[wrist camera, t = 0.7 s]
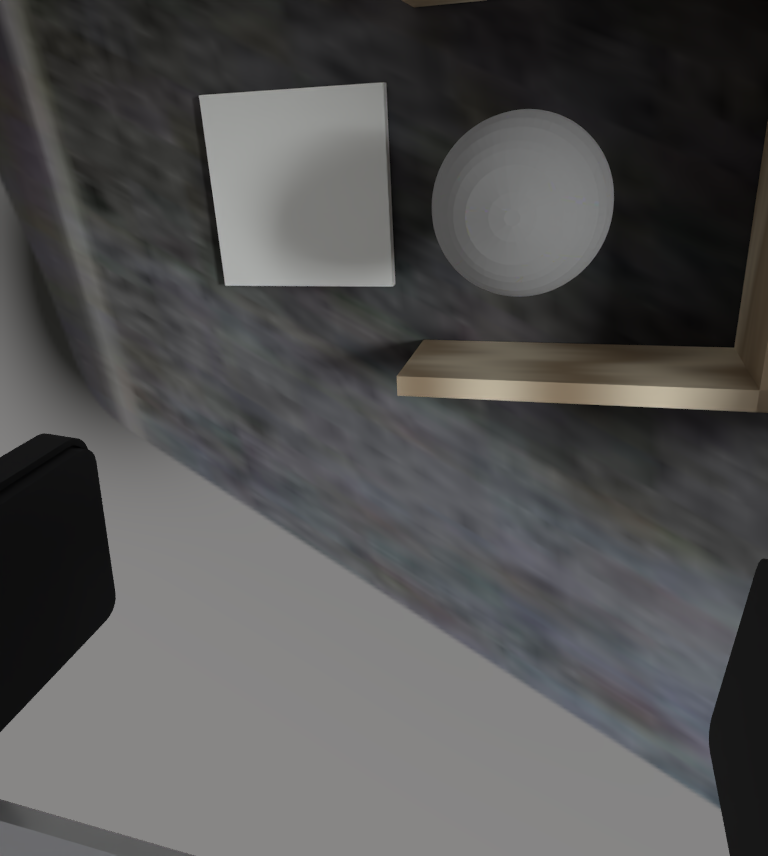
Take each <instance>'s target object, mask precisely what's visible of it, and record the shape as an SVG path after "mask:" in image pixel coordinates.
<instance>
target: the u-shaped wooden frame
mask: <svg viewBox="0 0 768 856" xmlns="http://www.w3.org/2000/svg"><path fill="white" fill-rule="evenodd" d="M402 1H403V2H405V3H407V4H409V5H410V6H412V7H423V6H433V5H444V4H454V3H464V2H475V1H485V0H402ZM397 393H398V396H418V397H440V398H461V399H483V400H504V401H526V402H548V403H569V404H591V405H612V406H634V407H655V408H677V409H698V410H720V411H742V412H763V413H768V121H767V128H766V135H765V142H764V149H763V155H762V162H761V169H760V176H759V183H758V189H757V196H756V203H755V210H754V217H753V223H752V230H751V237H750V244H749V251H748V257H747V264H746V271H745V278H744V285H743V291H742V298H741V305H740V312H739V319H738V325H737V332H736V339H735V346H734V348H731V347H692V346H653V345H613V344H574V343H535V342H495V341H456V340H423V341H422V343H421V344H420V345H419V347H418V348H417V349H416V351H415V352H414V354H413V355H412V356H411V358H410V359H409V360H408V362H407V363H406V364H405V366H404V367H403V368H402V370H401V371H400V372H399V374H398V375H397Z"/></svg>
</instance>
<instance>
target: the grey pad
mask: <svg viewBox="0 0 768 856" xmlns="http://www.w3.org/2000/svg"><path fill="white" fill-rule="evenodd" d="M199 100H200V107H201V114H202V122H203V129H204V136H205V143H206V150H207V158H208V165H209V172H210V179H211V186H212V194H213V201H214V208H215V215H216V222H217V230H218V237H219V244H220V251H221V258H222V266H223V273H224V280H225V286H377V287H393V286H394V285H395V264H394V242H393V220H392V198H391V175H390V153H389V131H388V109H387V86H386V83H384V82H381V83H367V84H353V85H338V86H324V87H310V88H296V89H281V90H267V91H253V92H239V93H224V94H210V95H199Z"/></svg>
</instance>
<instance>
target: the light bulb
mask: <svg viewBox="0 0 768 856" xmlns="http://www.w3.org/2000/svg"><path fill="white" fill-rule="evenodd" d="M613 205H614V188H613V180H612V175H611V171H610V168H609V165H608V162H607V160H606V158H605V155H604V154H603V152H602V150H601V148H600V147H599V145H598V144H597V143H596V141H595V140H594V139H593V138H592V137H591V135H590V134H589V133H588V132H587V131H585V130H584V129H583V128H582V127H581V126H579V125H578V124H577V123H575V122H574V121H572V120H570V119H568V118H566V117H564V116H562V115H559V114H557V113H553V112H550V111H545V110H539V109H520V110H513V111H509V112H505V113H501V114H499V115H496V116H493V117H491V118H489V119H486V120H484V121H482V122H481V123H479V124H478V125H476V126H474V127H473V128H472V129H470V130H469V131H468V132H467V133H466V134H464V135H463V136H462V137H461V138H460V139H459V140H458V141H457V142H456V144H455V145H454V146H453V147H452V149H451V150H450V151H449V153H448V154H447V156H446V158H445V159H444V161H443V163H442V165H441V167H440V169H439V172H438V175H437V177H436V181H435V184H434V189H433V195H432V220H433V226H434V231H435V234H436V237H437V240H438V243H439V245H440V247H441V249H442V251H443V253H444V255H445V256H446V258H447V259H448V261H449V262H450V263H451V265H452V266H453V267H454V268H455V269H456V270H457V271H458V272H459V273H460V274H461V275H462V276H463V277H464V278H465V279H467V280H468V281H470V282H471V283H473V284H474V285H476V286H478V287H480V288H482V289H484V290H486V291H489V292H492V293H495V294H500V295H504V296H515V297H523V296H532V295H538V294H542V293H546V292H548V291H551V290H554V289H556V288H558V287H560V286H562V285H564V284H565V283H567V282H569V281H570V280H572V279H573V278H574V277H576V276H577V275H578V274H579V273H581V272H582V271H583V270H584V269H585V268H586V267H587V266H588V265H589V263H590V262H591V261H592V260H593V258H594V257H595V256H596V254H597V253H598V251H599V250H600V248H601V246H602V244H603V242H604V240H605V238H606V236H607V233H608V230H609V227H610V224H611V219H612V214H613Z"/></svg>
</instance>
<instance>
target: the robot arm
mask: <svg viewBox="0 0 768 856" xmlns="http://www.w3.org/2000/svg"><path fill="white" fill-rule="evenodd" d="M115 599H116V598H115V588H114V580H113V574H112V567H111V560H110V554H109V546H108V539H107V532H106V526H105V518H104V512H103V505H102V498H101V491H100V484H99V477H98V470H97V463H96V459H95V456H94V454H93V453H92V452H91V451H90V450H88V448H87V446H86V444H85V443H84V442H83V441H82V440H80V439H77V438H71V437H64V436H58V435H51V434H40V435H38V436H36V437H34V438H33V439H31V440H29V441H27V442H26V443H24V444H22V445H20V446H19V447H17V448H15V449H14V450H12V451H10V452H9V453H7V454H5V455H3V456H2V457H0V732H1V731H2V730H3V729H4V727H5V726H6V725H7V724H8V723H9V722H10V721H11V720H12V719H13V718H14V717H15V716H16V715H17V714H18V713H19V712H20V711H21V710H22V709H23V708H24V707H25V705H26V704H27V703H28V702H29V701H30V700H31V699H32V698H33V697H34V696H35V695H36V694H37V693H38V692H39V691H40V690H41V689H42V687H43V686H44V685H45V684H46V683H47V682H48V681H49V680H50V679H51V678H52V677H53V676H54V675H55V674H56V673H57V672H58V671H59V670H60V669H61V667H62V666H63V665H64V664H65V663H66V662H67V661H68V660H69V659H70V658H71V657H72V656H73V655H74V654H75V653H76V651H77V650H78V649H80V647H81V646H82V645H83V644H84V643H85V642H86V641H87V640H88V639H89V638H90V637H91V636H92V635H93V634H94V633H95V632H96V631H97V630H98V629H99V627H100V626H101V625H102V624H103V623H104V622H105V621H106V620H107V619H108V617H109V616H110V614H111V612H112V611H113V608H114V604H115ZM709 747H710V754H711V759H712V764H713V770H714V775H715V780H716V785H717V790H718V796H719V801H720V806H721V811H722V816H723V822H724V826H725V832H726V837H727V842H728V848H729V853H730V856H768V559H762V560H761V561H760V562H759V564H758V566H757V569H756V572H755V575H754V578H753V582H752V585H751V588H750V592H749V595H748V598H747V602H746V605H745V608H744V612H743V615H742V618H741V622H740V625H739V628H738V632H737V635H736V638H735V642H734V645H733V648H732V652H731V655H730V658H729V662H728V665H727V668H726V672H725V675H724V678H723V682H722V685H721V688H720V692H719V695H718V698H717V702H716V705H715V708H714V712H713V715H712V718H711V723H710V730H709ZM0 856H194V855H191V854H188V853H184V852H181V851H177V850H173V849H170V848H167V847H163V846H160V845H157V844H153V843H149V842H146V841H143V840H139V839H136V838H132V837H129V836H125V835H122V834H119V833H115V832H112V831H108V830H105V829H101V828H98V827H94V826H91V825H87V824H84V823H80V822H77V821H74V820H70V819H67V818H63V817H60V816H56V815H53V814H49V813H46V812H42V811H39V810H35V809H32V808H29V807H25V806H22V805H18V804H15V803H11V802H8V801H4V800H1V799H0Z"/></svg>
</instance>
